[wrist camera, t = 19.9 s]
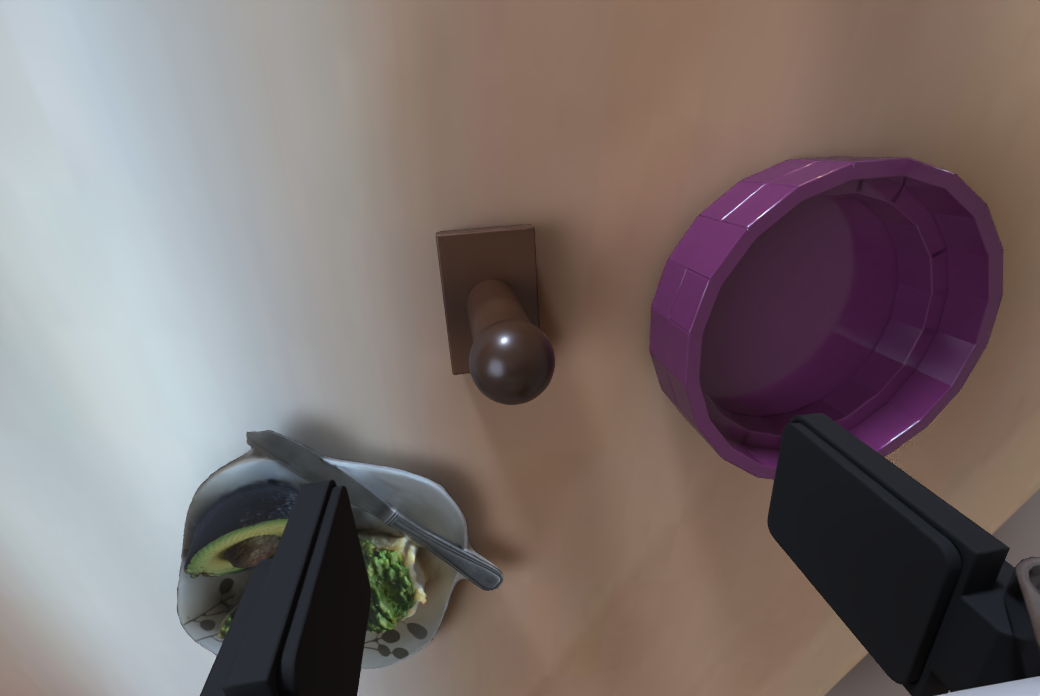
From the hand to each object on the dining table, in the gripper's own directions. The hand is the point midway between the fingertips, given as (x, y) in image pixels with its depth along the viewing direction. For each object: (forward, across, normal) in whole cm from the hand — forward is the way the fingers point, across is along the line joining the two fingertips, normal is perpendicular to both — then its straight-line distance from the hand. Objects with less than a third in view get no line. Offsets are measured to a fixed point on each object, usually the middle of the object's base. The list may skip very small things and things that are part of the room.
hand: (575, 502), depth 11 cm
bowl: (+19, -18, +4) cm, 26 cm away
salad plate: (+18, +12, +17) cm, 28 cm away
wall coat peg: (+19, 0, +1) cm, 19 cm away
